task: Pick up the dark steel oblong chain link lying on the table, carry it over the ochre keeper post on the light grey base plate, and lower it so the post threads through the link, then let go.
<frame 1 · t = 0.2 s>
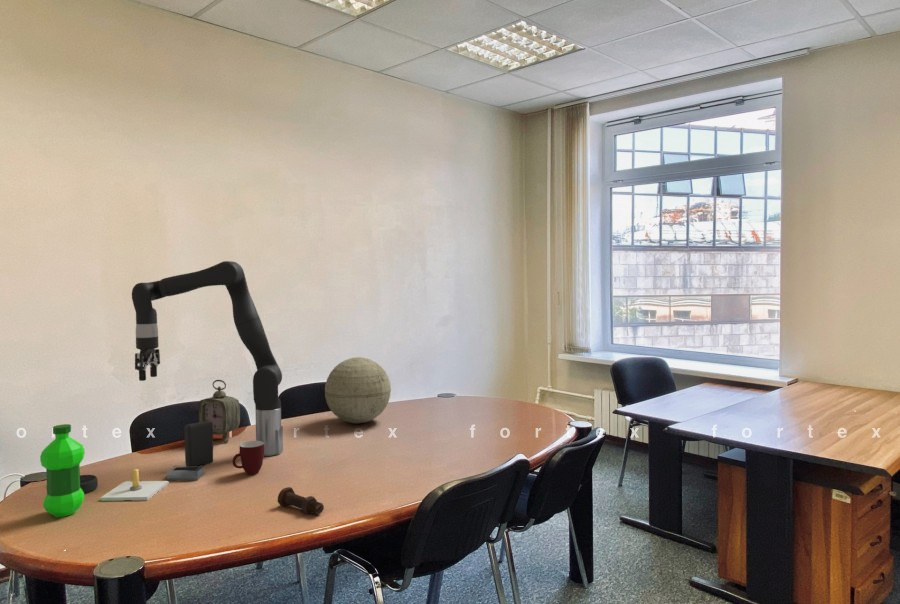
hand: (148, 378, 221), 29 cm above the table, tool pointing down, fingers open, 8 cm apart
concrete ball: (358, 422, 271), on the table
keeper post: (135, 492, 183), on the table
dark grey upright slab: (199, 464, 211), on the table
plastic bottle: (64, 513, 167), on the table
steel link: (185, 477, 197), on the table
tabletop clock: (220, 440, 243), on the table
smart speaker: (81, 491, 185), on the table
mug: (249, 474, 200), on the table
bolt: (301, 511, 169), on the table
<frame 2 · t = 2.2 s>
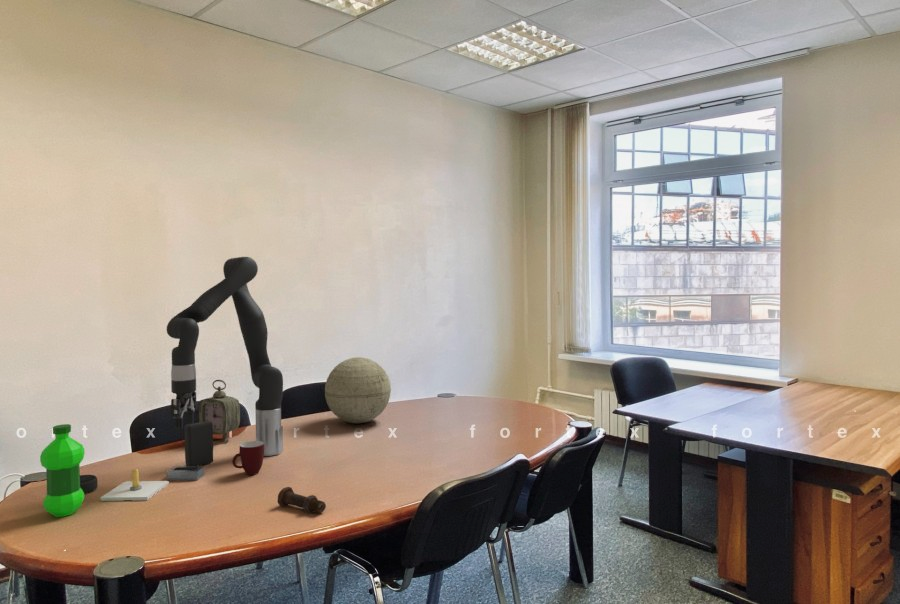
hand: (184, 426, 196), 17 cm above the table, tool pointing down, fingers open, 8 cm apart
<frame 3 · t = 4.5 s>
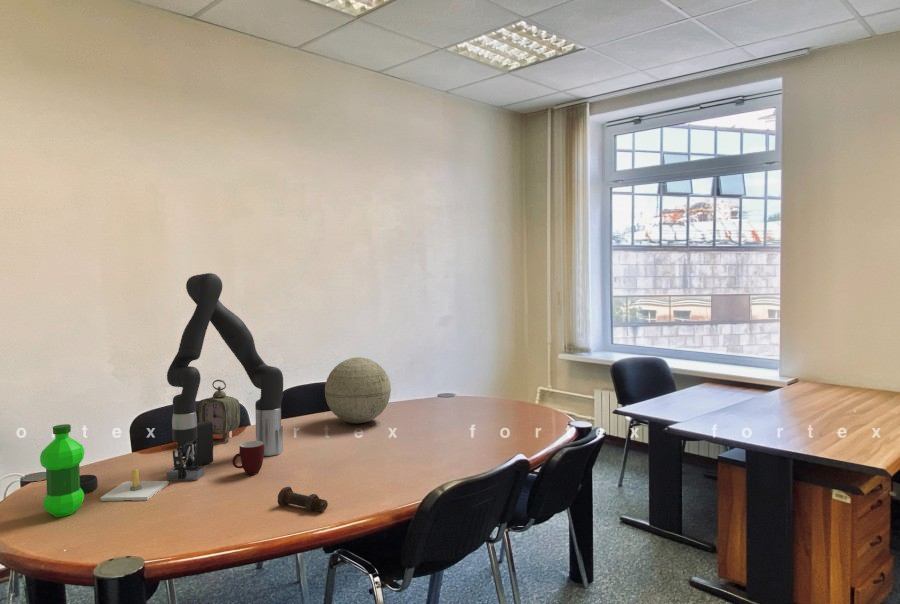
hand: (185, 475, 197), 1 cm above the table, tool pointing down, fingers closed on steel link, 5 cm apart
steel link: (185, 477, 197), on the table, touching gripper
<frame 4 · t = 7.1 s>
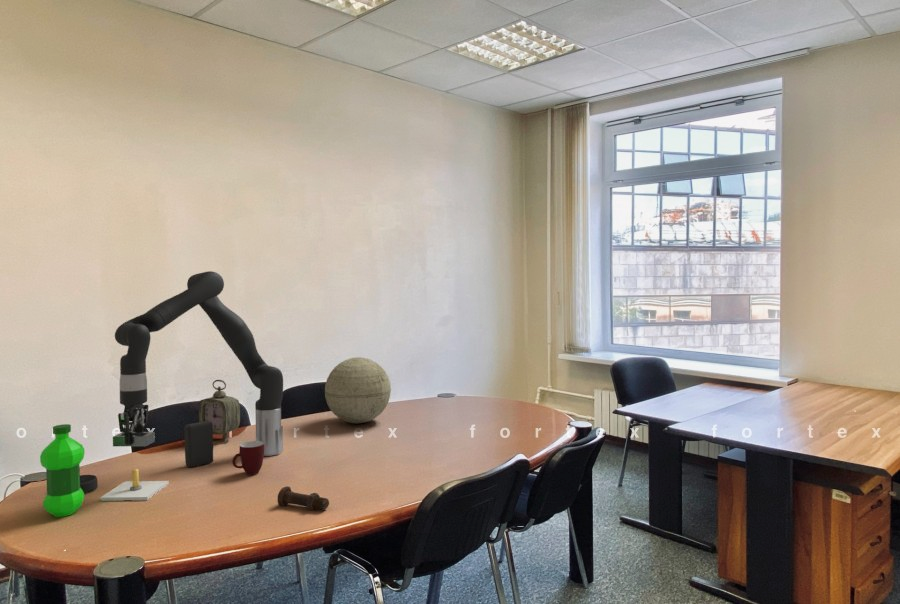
hand: (134, 441, 183), 16 cm above the table, tool pointing down, fingers closed on steel link, 5 cm apart
steel link: (134, 443, 183), point 15 cm above the table, touching gripper
when the fingers open (3 cm above the table, at t = 10.0 s): steel link drops 1 cm, resting on keeper post.
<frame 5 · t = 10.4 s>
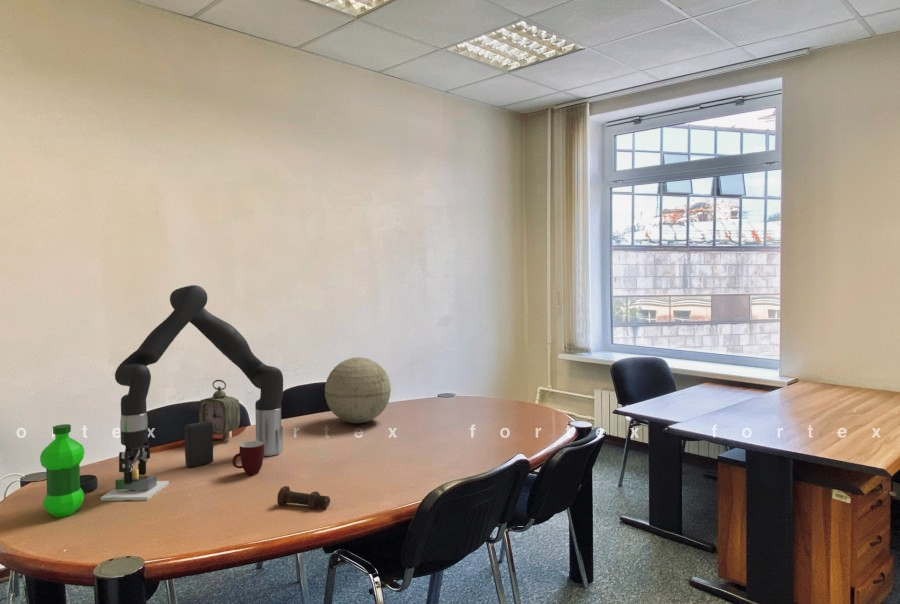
hand: (135, 479, 183), 4 cm above the table, tool pointing down, fingers open, 8 cm apart
steel link: (136, 487, 184), point 1 cm above the table, tilted 7°, touching keeper post
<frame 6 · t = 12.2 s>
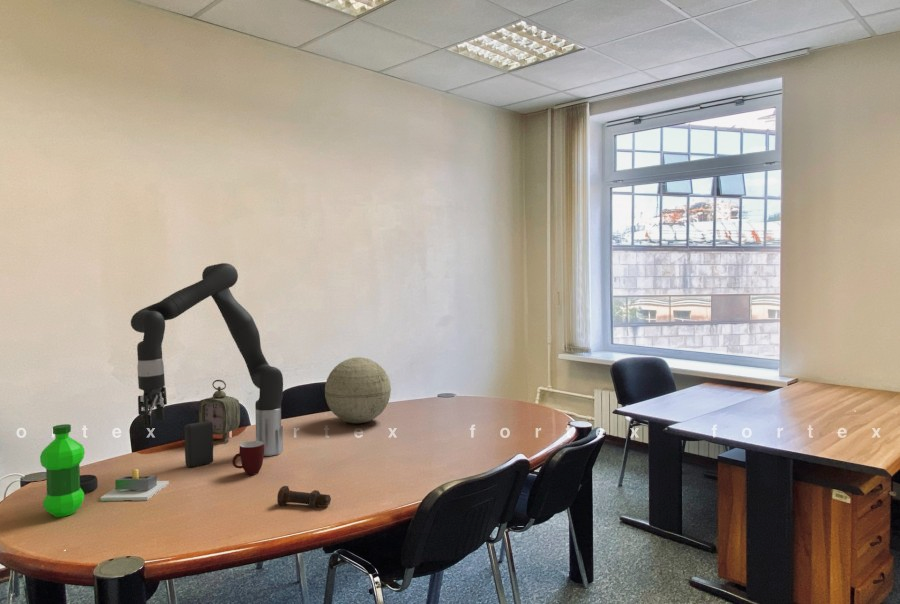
hand: (154, 423, 188), 20 cm above the table, tool pointing down, fingers open, 8 cm apart
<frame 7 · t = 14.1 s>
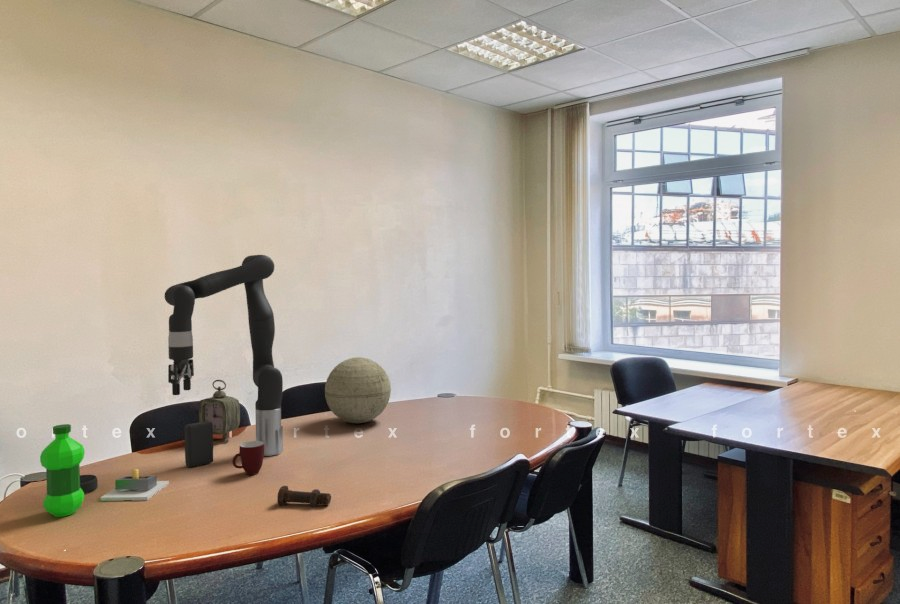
hand: (181, 392, 198), 28 cm above the table, tool pointing down, fingers open, 8 cm apart
at the end: steel link 0.2 cm from the keeper post (horizontally); steel link point 1.4 cm above the table; the gripper is holding nothing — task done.
